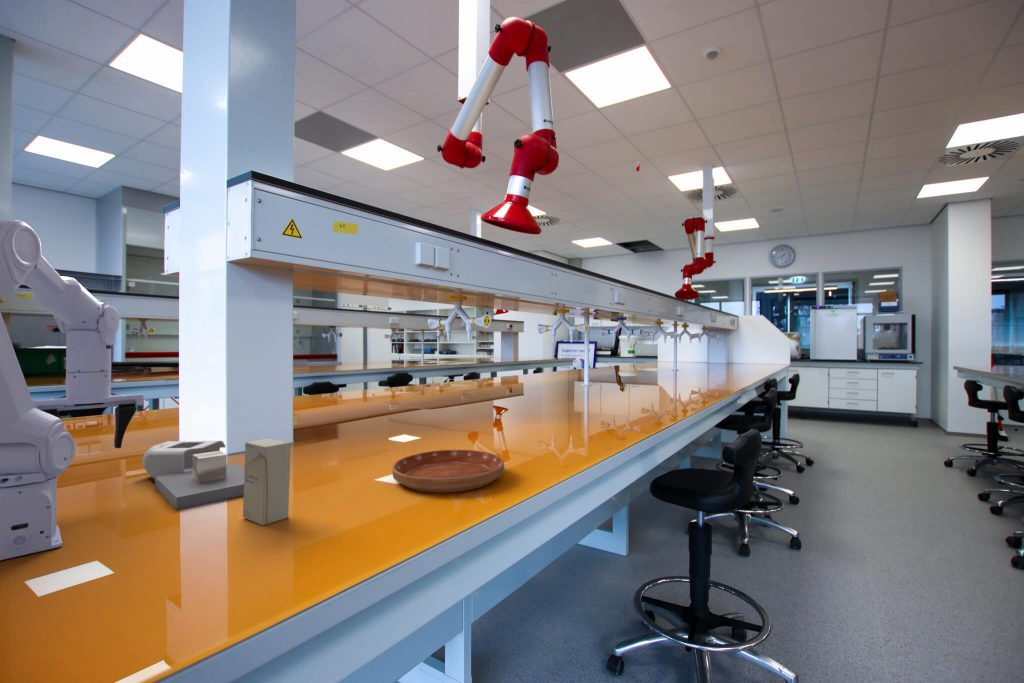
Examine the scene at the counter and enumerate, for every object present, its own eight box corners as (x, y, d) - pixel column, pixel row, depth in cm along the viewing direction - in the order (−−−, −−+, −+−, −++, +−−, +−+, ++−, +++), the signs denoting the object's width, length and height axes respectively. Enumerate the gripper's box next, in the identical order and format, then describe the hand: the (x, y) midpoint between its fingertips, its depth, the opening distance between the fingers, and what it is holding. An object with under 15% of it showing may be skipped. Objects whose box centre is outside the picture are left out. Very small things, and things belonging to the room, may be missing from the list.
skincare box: (242, 518, 73) (242, 441, 74) (269, 509, 77) (269, 437, 77) (263, 526, 70) (264, 446, 70) (291, 517, 74) (291, 441, 74)
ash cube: (226, 477, 89) (226, 454, 89) (198, 482, 86) (198, 458, 86) (219, 473, 92) (219, 450, 92) (192, 478, 89) (192, 454, 89)
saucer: (458, 505, 80) (458, 484, 80) (367, 485, 92) (367, 466, 92) (524, 474, 100) (524, 457, 100) (442, 460, 111) (442, 445, 111)
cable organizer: (132, 451, 92) (195, 449, 93) (172, 437, 104) (227, 437, 105) (131, 484, 92) (195, 482, 93) (172, 467, 104) (227, 466, 105)
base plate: (266, 490, 88) (266, 479, 88) (176, 509, 77) (176, 497, 77) (235, 472, 100) (235, 463, 100) (154, 486, 90) (155, 476, 90)
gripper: (138, 369, 87) (138, 441, 87) (27, 372, 77) (26, 454, 76) (145, 370, 82) (145, 446, 82) (28, 374, 72) (27, 461, 72)
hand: (88, 451), depth 79 cm, fingers open, 7 cm apart
